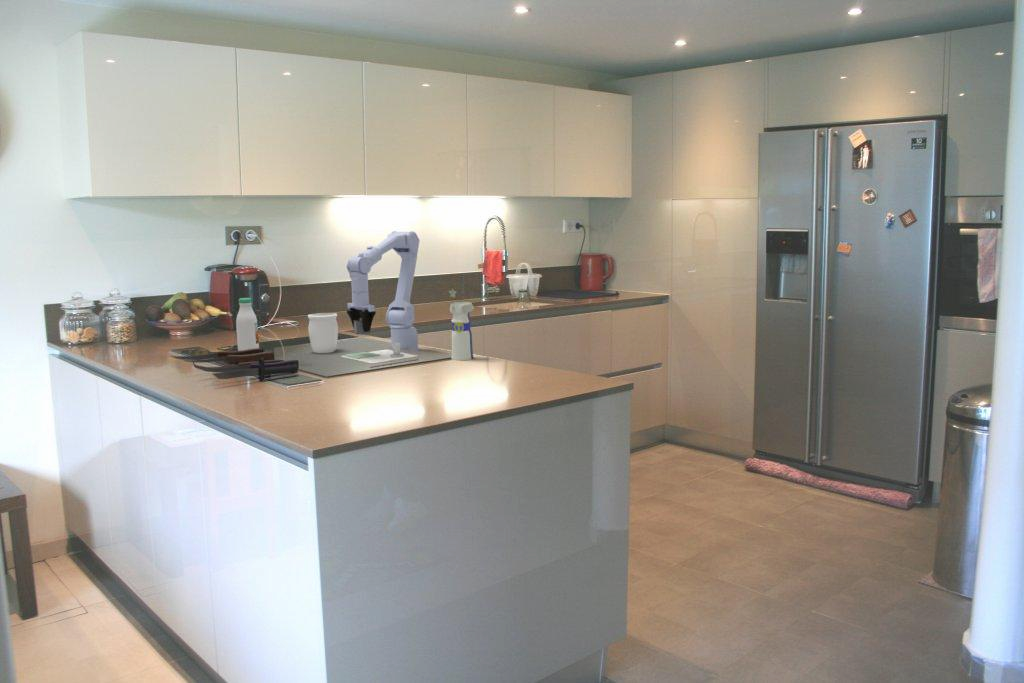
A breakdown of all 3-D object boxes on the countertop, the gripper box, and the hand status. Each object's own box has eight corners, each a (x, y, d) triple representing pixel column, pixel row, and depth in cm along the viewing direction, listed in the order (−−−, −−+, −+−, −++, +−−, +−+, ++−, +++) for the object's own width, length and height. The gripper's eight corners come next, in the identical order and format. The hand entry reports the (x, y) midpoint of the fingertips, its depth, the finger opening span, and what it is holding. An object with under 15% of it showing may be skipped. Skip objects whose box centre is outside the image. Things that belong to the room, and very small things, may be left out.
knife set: (168, 370, 274) (168, 346, 273) (264, 361, 295) (264, 340, 294) (207, 388, 247) (207, 363, 246) (309, 378, 268) (309, 354, 267)
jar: (303, 356, 301) (301, 315, 299) (322, 352, 310) (320, 312, 308) (326, 358, 296) (324, 316, 294) (345, 353, 305) (343, 313, 303)
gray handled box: (354, 332, 291) (353, 318, 291) (367, 332, 293) (366, 317, 292) (356, 334, 287) (355, 319, 286) (369, 333, 289) (369, 319, 288)
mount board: (386, 353, 304) (385, 337, 303) (418, 360, 290) (417, 343, 289) (340, 360, 292) (340, 343, 291) (371, 367, 277) (370, 349, 276)
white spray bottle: (471, 360, 286) (469, 288, 282) (447, 360, 288) (445, 288, 284) (477, 356, 294) (475, 286, 290) (454, 356, 296) (452, 286, 292)
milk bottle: (252, 352, 312) (249, 299, 309) (234, 352, 313) (230, 299, 310) (263, 349, 319) (259, 297, 316) (244, 348, 321) (240, 297, 318)
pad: (366, 352, 298) (365, 351, 298) (379, 355, 291) (379, 354, 291) (343, 355, 292) (343, 354, 292) (357, 359, 285) (357, 357, 285)
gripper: (339, 291, 291) (341, 329, 293) (361, 293, 280) (363, 333, 282) (356, 289, 295) (358, 327, 297) (379, 292, 285) (380, 331, 287)
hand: (361, 330), depth 290 cm, fingers closed on gray handled box, 6 cm apart
